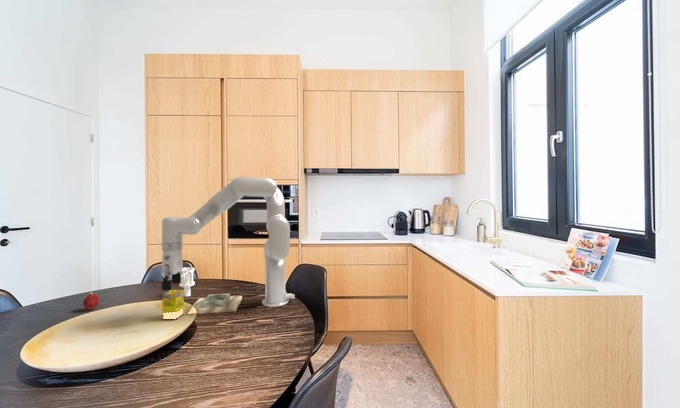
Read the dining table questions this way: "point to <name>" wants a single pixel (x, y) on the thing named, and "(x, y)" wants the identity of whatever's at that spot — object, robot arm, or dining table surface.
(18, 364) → the dining table surface
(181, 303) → the supplement box
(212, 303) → the grey flat piece
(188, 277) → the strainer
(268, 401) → the dining table surface
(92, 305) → the onion
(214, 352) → the dining table surface
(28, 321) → the dining table surface
